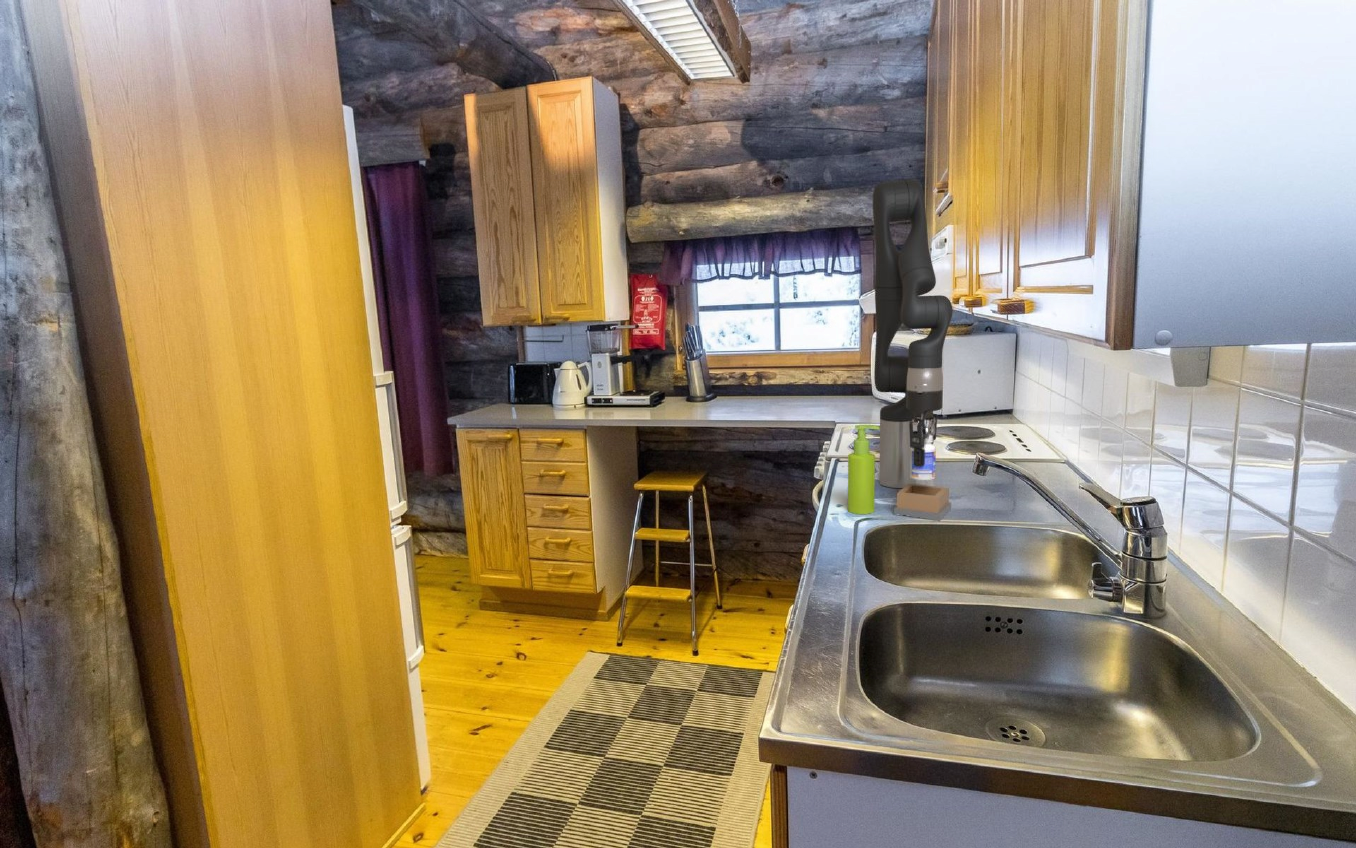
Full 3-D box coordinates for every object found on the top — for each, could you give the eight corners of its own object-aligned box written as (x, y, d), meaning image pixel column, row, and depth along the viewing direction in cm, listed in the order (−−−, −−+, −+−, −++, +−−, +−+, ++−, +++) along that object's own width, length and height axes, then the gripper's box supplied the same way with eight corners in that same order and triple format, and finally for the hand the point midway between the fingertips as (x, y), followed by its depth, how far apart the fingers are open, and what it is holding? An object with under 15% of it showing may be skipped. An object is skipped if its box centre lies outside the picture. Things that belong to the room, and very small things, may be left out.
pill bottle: (938, 480, 154) (940, 437, 152) (914, 481, 154) (915, 438, 152) (929, 474, 159) (931, 432, 158) (906, 475, 159) (907, 433, 158)
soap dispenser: (880, 514, 157) (881, 427, 154) (848, 514, 159) (848, 427, 155) (878, 507, 163) (878, 422, 159) (847, 506, 164) (847, 423, 161)
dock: (906, 503, 165) (907, 482, 164) (951, 508, 159) (951, 487, 158) (893, 514, 157) (894, 493, 156) (940, 521, 151) (940, 498, 150)
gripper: (916, 384, 161) (915, 455, 164) (897, 391, 150) (896, 468, 152) (950, 385, 157) (948, 458, 160) (933, 392, 145) (931, 471, 148)
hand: (922, 462), depth 156 cm, fingers closed on pill bottle, 5 cm apart
